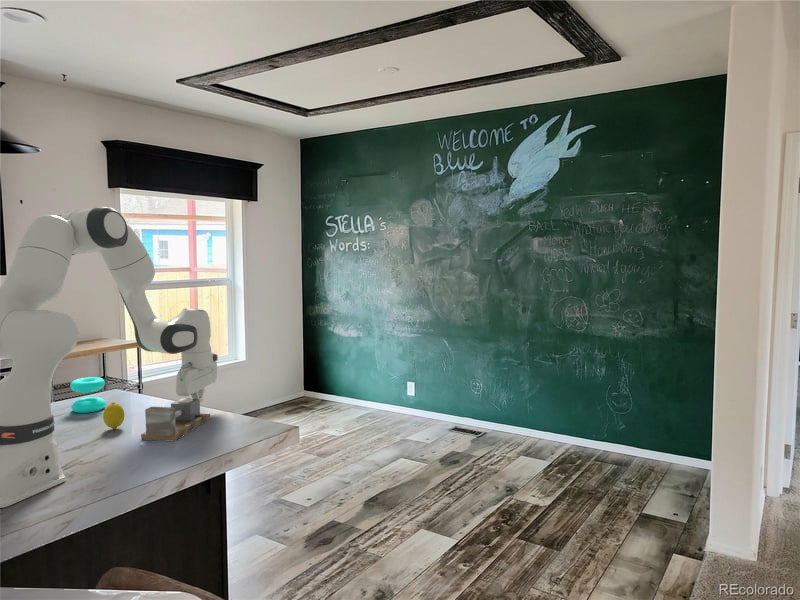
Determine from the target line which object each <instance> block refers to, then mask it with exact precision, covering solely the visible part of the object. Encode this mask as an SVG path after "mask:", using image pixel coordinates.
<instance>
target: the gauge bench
mask: <svg viewBox="0 0 800 600" xmlns="http://www.w3.org/2000/svg"><path fill="white" fill-rule="evenodd" d="M144 413H145V431H144V432H142V433H141V436H140V437H141V438H140V440H141V439H144V440H143V441H145V440H146V441H161V440H173V441H172V442H177V441H178V440H179V438H180V437H181V438H182V436H183V435H184V436H186V435H187V434H189V433H190V432H192V431H193V430H192V429H194V428H195V429H196V427H197V426H198V427H200V426H201V425H203V424H205V423H206V422H208V421H209V420H210V419H211V413H200V415H202V417H201V418H199V417H196V418H195V419H193V420H191V421H180V420H175V408H172V407H171V406H169V407H167V406H164V407H163V406H150V407H148V408H145V410H144ZM207 420H208V421H207ZM202 423H203V424H202ZM199 425H200V426H199ZM198 427H197V428H198ZM195 429H194V430H195ZM191 430H192V431H191ZM189 431H190V432H189ZM188 432H189V433H188ZM186 433H187V434H186ZM185 434H186V435H185ZM184 436H183V437H184ZM181 438H180V439H181ZM177 439H178V440H177Z"/></svg>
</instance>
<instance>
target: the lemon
mask: <svg viewBox="0 0 800 600" xmlns="http://www.w3.org/2000/svg"><path fill="white" fill-rule="evenodd" d="M102 417H103V422H104V424H105V425H106V426H107V427H108V428H111V429H113V430H117V428H118V427H120V426H121V425H122V424H123V422H124V420H125V411H124V408H123V407H122V405H120V404H119V403H116V402H114V401H113V402H111V403H110V404H108V405H106V406H105V407H104V411H103V414H102Z"/></svg>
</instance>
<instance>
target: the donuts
mask: <svg viewBox="0 0 800 600" xmlns="http://www.w3.org/2000/svg"><path fill="white" fill-rule="evenodd" d="M105 384H106V382H105V379H104V378H102V377H98V376H97V377H96V376H88V377H81V378H77V379H74V380H73V381H71V382H70V384H69V385H70V390H72V391H73V392H76V393H92V392H97V391H100V390H101V389H102V388H104V387H105ZM70 407H71V410H72V411H73V412H75V413H77V414H89V413H94V412H95V413H96V412H99V411H101V410H103V409H105V408H106V407H107V402H106V400H105V399H104V398H102V397H98V396H88V397H87V396H86V397H81V398H79V399H76V400H74V401H73V402H72V404H71V405H70Z"/></svg>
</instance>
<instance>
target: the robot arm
mask: <svg viewBox="0 0 800 600" xmlns="http://www.w3.org/2000/svg"><path fill="white" fill-rule="evenodd" d="M97 252H98V253H100V254H101V256H102V258H103V261H104V263H105V265H106V267H107V269H108V270H109V272H110V274H111V276H112V277H113V279H114V282H115V283H116V286H117V289H118V292H119V295H120V297H121V300H122V302H123V303H124V306H125V308H126V310H127V312H128V315H129V317H130V319H131V321H132V324H133V328H134V336H135V342H136V344H137V345H138V346H139V348H141V349H142V350H143V351H146V352H150V353H152V352H154V353H155V352H157V353H160V354H161V353H162V354H167V355H175V354H180V353H181V354H180V355H181V367H180V369H179V371H178V372H177V374H176V384H175V392H176V393H175V394H176V395H177V396H178V397H188V396H191V399H200V404H201V403H203V400H204V399H203V398H204V393H205V391H206V389H205V388H206V387H208V386H210V385H212V384H214V383H216V382H217V378H218V364H217V363H218V359H219V356H218V354H217V353H214V352H212V346H211V343H210V342H211V341H210V340H211V336H212V335H211V334H212V333H211V332H212V330H211V320H210V316H209V314H208V312H207V311H206V310H205V309H197V308H190V307H189V308H188V307H186V308H183V309H182V310H181V311H180V312H179V313H178V314H177V315H176V316H174V317H173V318H170V319H169V320H162V319H160V318H159V317H158V316H156V314H155V313H154V311H153V309H152V307H151V304H150V302H149V299H148V298H147V296H146V288H147V287H148V286H150V285H151V283H152V282H153V280H154V277H155V274H156V270H155V266H154V262H153V261H152V258H151V256H150V254H149V253H148V251H147V249H146V247H145V245H144V243H143V242H142V240H141V239H140V237H139V236H138V234H136V232H135V231H134V229H133V228H132V227H131V225H130V224H128V223H127V221H126V220H125V217H124V216H123V215H122V214H121V212H119V211H118V210H117V209H115V208H113V207H108V206H97V207H94V208H87V209H86V208H85V209H78V210H74V211H69V212H67V213H65V214H60V215H56V214H55V215H54V214H41V215H38V216H36V217H34V219H32V221H31V223H30V224H29V225H28V226H27V229H26V230H25V232H24V234H23V235H22V237H21V240H20V242H19V243H18V246H17V249H16V252H15V254H14V257H13V258H12V259H13V260H12V262H11V265H10V268H8V269H9V270H8V272H7V274H6V276H5V278H4V280H3V282H2V283H1V285H0V359H1V360H3V359H4V360H7V359H8V360H12V366H11V369H10V372H9V374H8V375H7V376H5V377H4V378H2V379H0V509H1V508H7V507H10V506H12V505H14V504H17V503H19V502H21V501H23V500H26V499H28V498H30V497H33V496H35V495H37V494H39V493H41V492H44V491H46V490H49V489H50V488H53V487H55V486H57V485H59V484H62V483H64V482H66V481H67V479H66V475H65V474H64V471H63V470H62V466H61V459H60V452H59V448H58V444H57V442H56V439H55V437H54V431H55V423H56V422H55V419H54V415H53V413H52V398H51V396H52V395H51V393H52V381H53V376H54V373H55V371H56V369H57V367H58V366H59V364H60V363H61V362H62V360H63V359H64V358H66V357H67V356H68V355H69V354H71V352H73V351H74V349H75V347H76V346H77V344H78V340H79V329H78V326H77V325H78V324H77V323H76V321H75V320H74V318H73V317H72V316H70V315H68V314H66V313H62V312H58V311H53V310H45V309H40V308H41V307H42V306H44V305H45V304H47V303H48V302H49V303H50V302H51V301H53V300H54V299H55V298H57V297H58V296H59V295H60V293H61V292H62V288H63V286H64V282H65V280H66V277H67V273H68V269H69V267H70V263H71V260H72V256H74V255H79V254H91V253H92V254H93V253H97Z"/></svg>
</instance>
